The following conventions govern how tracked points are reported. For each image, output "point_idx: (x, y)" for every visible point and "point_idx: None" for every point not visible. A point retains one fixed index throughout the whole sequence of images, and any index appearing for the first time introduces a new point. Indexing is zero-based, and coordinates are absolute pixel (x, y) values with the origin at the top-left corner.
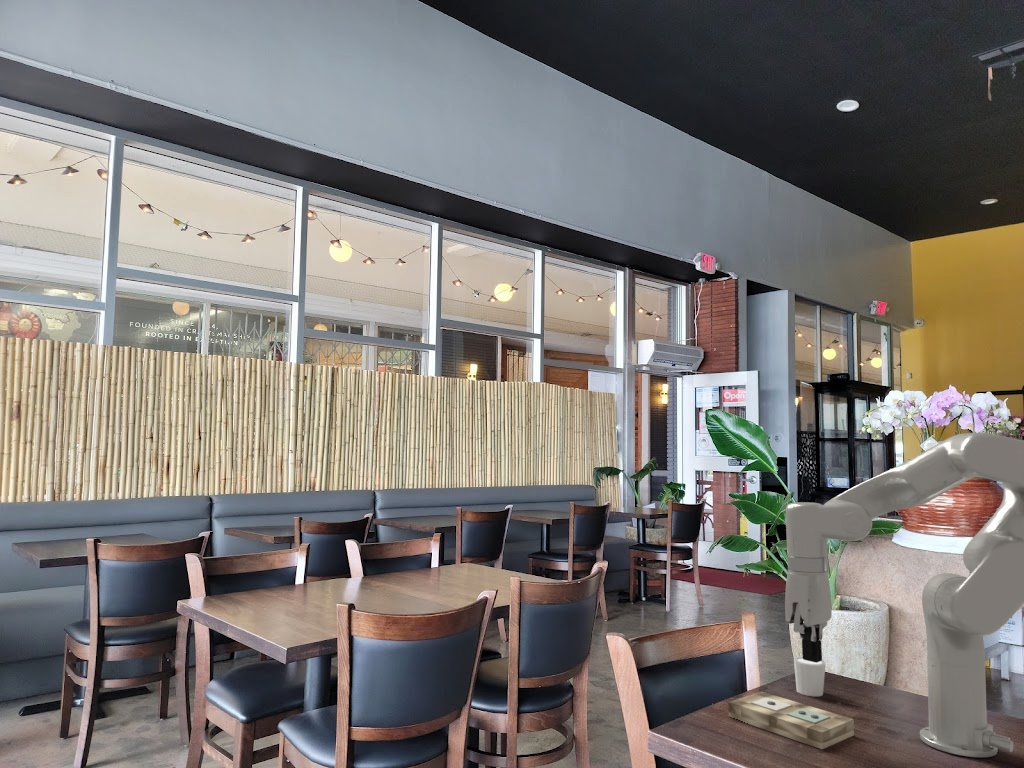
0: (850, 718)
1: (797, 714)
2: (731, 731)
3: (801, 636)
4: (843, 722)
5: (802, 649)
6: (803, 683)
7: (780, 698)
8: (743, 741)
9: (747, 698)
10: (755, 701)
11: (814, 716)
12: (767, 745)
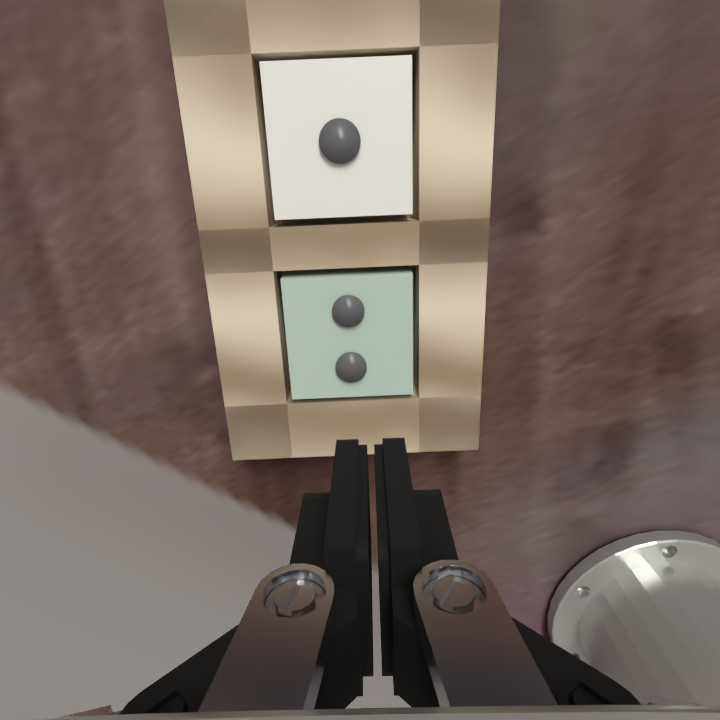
0: (476, 439)
1: (315, 308)
2: (61, 134)
3: (225, 634)
4: (408, 447)
5: (331, 481)
6: None
7: (474, 105)
8: (31, 237)
9: None
10: (293, 65)
11: (347, 369)
12: (93, 311)
